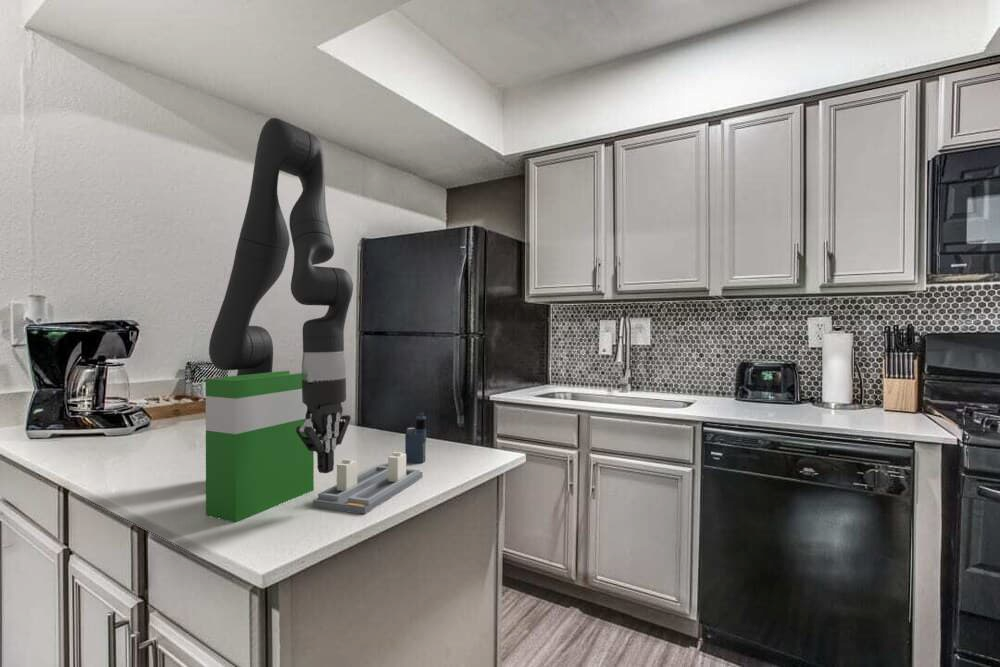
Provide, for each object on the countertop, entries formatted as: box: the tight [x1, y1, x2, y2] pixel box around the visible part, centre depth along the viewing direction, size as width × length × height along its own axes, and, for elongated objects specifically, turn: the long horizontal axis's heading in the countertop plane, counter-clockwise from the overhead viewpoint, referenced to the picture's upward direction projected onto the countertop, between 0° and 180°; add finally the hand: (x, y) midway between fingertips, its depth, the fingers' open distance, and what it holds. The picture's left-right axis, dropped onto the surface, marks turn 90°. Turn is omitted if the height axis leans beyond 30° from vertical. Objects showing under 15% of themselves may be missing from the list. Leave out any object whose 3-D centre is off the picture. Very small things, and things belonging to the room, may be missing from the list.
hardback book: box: [205, 370, 315, 523], centre depth 91 cm, size 18×7×24 cm, turn 157°
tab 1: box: [336, 458, 358, 491], centre depth 95 cm, size 2×4×6 cm, turn 162°
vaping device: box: [404, 412, 427, 464], centre depth 119 cm, size 3×5×12 cm, turn 79°
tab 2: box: [387, 451, 407, 482], centre depth 101 cm, size 2×4×6 cm, turn 162°
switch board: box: [313, 465, 424, 515], centre depth 98 cm, size 11×22×2 cm, turn 162°
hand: (325, 471), depth 88 cm, fingers closed
